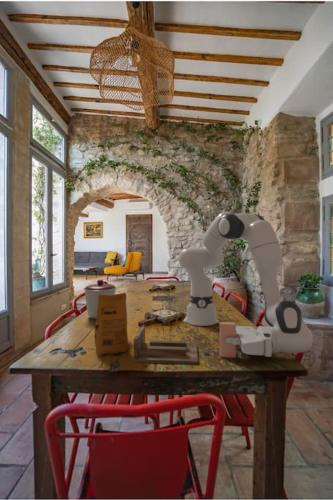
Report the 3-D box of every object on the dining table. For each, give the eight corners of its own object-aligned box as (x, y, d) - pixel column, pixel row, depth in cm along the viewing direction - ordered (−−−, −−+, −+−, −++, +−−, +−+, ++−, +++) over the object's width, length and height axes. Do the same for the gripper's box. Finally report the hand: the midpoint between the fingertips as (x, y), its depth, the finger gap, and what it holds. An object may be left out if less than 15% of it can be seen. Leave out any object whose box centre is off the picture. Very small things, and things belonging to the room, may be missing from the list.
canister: (120, 313, 165) (120, 277, 164) (111, 321, 147) (111, 281, 146) (90, 312, 166) (90, 277, 166) (78, 321, 148) (78, 281, 148)
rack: (142, 345, 112) (142, 325, 112) (196, 347, 110) (196, 326, 110) (133, 361, 97) (133, 339, 96) (197, 364, 95) (197, 340, 94)
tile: (219, 354, 103) (219, 322, 103) (234, 355, 102) (234, 322, 102) (220, 357, 101) (220, 324, 100) (235, 357, 100) (235, 324, 100)
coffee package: (94, 347, 111) (94, 291, 110) (125, 344, 114) (125, 290, 113) (94, 356, 101) (94, 296, 101) (128, 353, 104) (128, 294, 104)
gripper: (257, 322, 110) (222, 321, 112) (272, 339, 90) (228, 338, 91) (257, 338, 111) (222, 337, 112) (272, 359, 90) (228, 357, 92)
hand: (225, 337), depth 101 cm, fingers closed on tile, 2 cm apart
